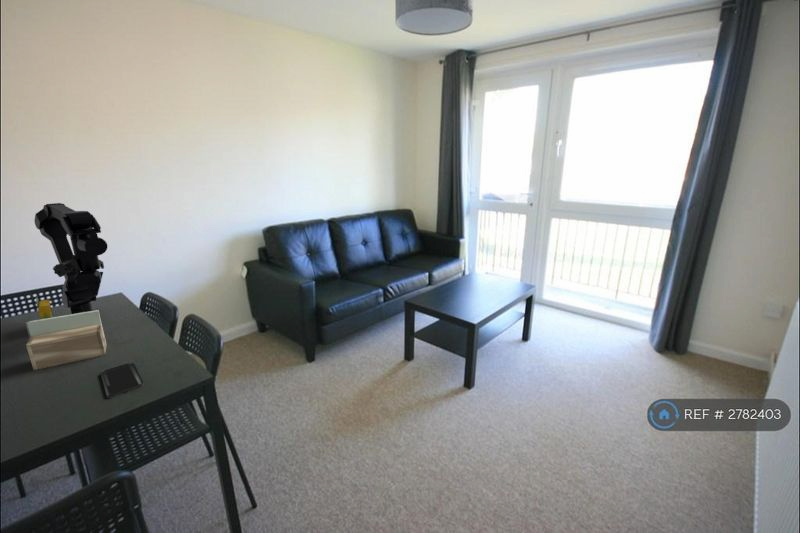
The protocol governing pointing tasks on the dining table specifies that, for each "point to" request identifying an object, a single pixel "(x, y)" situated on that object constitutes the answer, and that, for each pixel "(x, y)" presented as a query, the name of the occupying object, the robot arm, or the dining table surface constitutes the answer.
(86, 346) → the crate
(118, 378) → the phone
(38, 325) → the flap
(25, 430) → the dining table surface
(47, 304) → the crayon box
